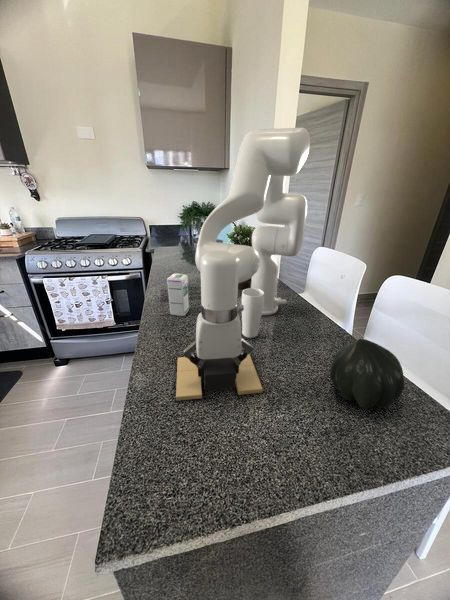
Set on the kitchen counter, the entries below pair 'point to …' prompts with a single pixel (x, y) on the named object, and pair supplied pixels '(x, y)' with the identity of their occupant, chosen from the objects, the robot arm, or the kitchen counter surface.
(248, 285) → the coffee mug
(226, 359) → the black block
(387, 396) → the squash
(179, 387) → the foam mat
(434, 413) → the kitchen counter surface
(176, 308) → the syrup box
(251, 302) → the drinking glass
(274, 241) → the robot arm
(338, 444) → the kitchen counter surface
